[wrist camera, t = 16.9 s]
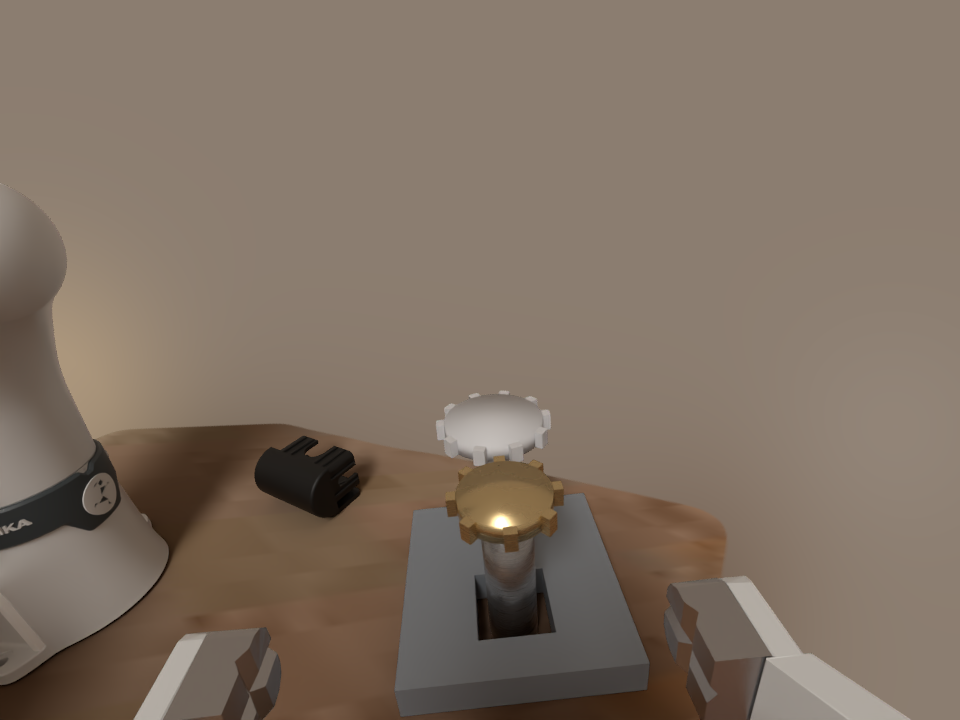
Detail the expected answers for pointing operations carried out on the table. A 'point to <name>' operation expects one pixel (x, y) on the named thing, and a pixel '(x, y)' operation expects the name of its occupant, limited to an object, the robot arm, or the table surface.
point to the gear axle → (507, 534)
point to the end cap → (308, 477)
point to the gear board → (461, 581)
